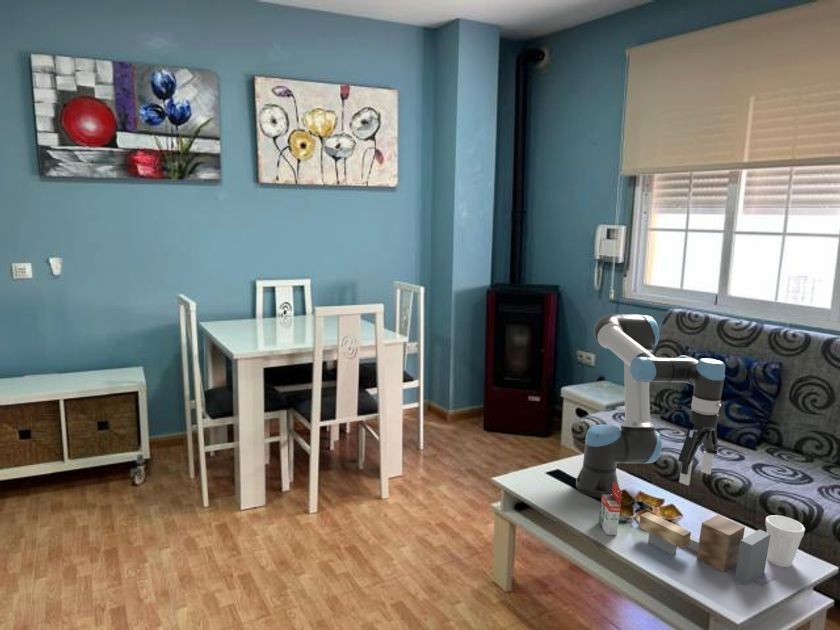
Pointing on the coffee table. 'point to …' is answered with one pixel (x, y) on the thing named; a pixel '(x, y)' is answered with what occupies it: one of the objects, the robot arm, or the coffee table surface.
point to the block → (720, 542)
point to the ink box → (610, 511)
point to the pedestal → (662, 544)
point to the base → (747, 555)
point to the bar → (665, 530)
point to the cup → (783, 539)
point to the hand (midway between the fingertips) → (695, 478)
